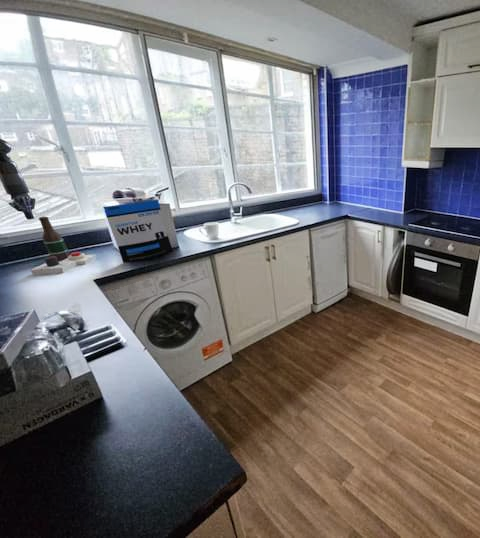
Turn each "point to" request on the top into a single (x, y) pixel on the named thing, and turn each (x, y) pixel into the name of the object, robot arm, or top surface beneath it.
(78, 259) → the switch block
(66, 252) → the beer bottle
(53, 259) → the dial
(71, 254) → the power button
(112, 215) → the protein powder
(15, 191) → the robot arm
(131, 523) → the top surface
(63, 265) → the control panel
